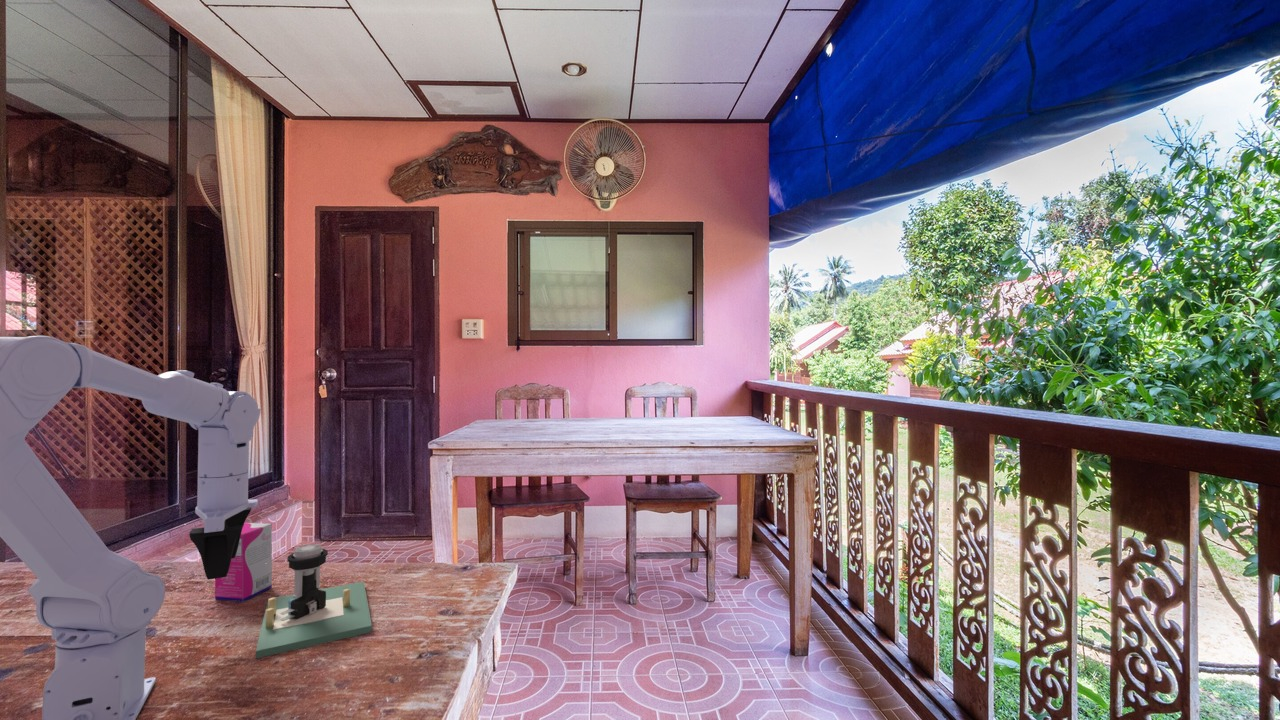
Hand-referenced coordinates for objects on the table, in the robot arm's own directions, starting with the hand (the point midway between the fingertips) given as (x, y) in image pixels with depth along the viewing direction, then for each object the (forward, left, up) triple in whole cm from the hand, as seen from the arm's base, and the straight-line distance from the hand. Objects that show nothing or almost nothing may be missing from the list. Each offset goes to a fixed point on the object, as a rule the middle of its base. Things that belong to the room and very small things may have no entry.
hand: (222, 567), depth 75 cm
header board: (+1, -12, -10) cm, 16 cm away
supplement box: (+17, -1, -11) cm, 20 cm away
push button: (+1, -10, -10) cm, 14 cm away
